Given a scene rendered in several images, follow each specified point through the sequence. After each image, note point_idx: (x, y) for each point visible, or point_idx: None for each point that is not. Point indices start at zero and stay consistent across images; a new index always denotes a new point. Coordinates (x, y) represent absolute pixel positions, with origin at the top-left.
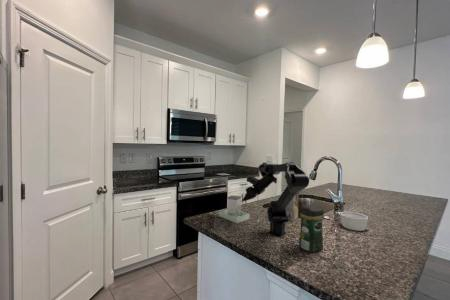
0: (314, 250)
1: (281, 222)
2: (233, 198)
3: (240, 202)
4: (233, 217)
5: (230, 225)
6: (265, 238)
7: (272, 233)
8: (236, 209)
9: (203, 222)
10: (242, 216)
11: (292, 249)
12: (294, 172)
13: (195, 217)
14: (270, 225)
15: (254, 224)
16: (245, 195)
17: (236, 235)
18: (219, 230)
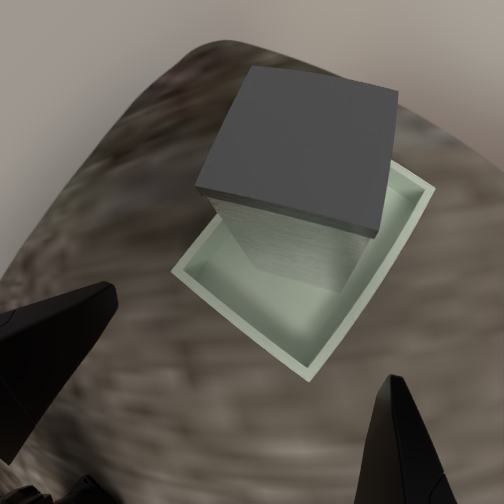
0: None
1: None
2: (219, 135)
3: (348, 254)
4: (195, 244)
5: (145, 247)
6: (35, 436)
7: (74, 486)
8: (237, 241)
9: (176, 100)
10: (227, 319)
11: (4, 494)
12: None
13: (245, 50)
14: (80, 498)
15: (196, 418)
16: (2, 318)
17: (37, 299)
18: (79, 206)
